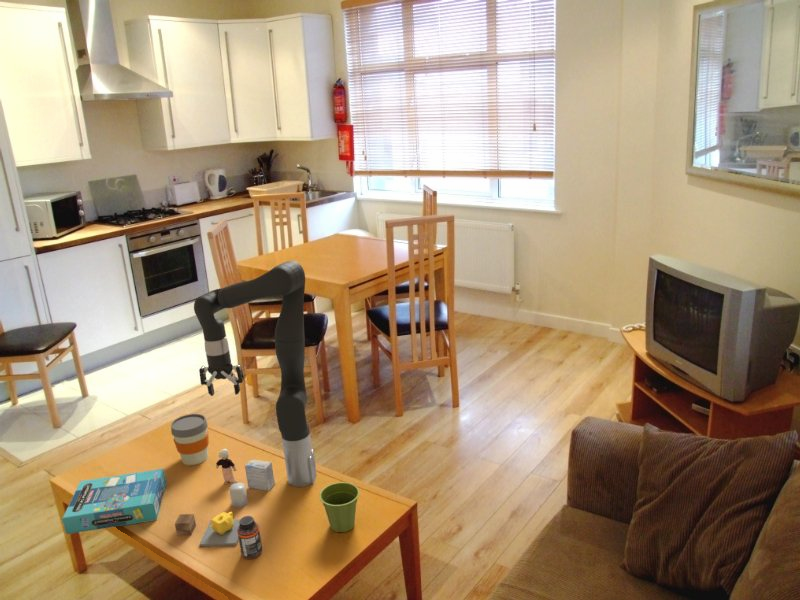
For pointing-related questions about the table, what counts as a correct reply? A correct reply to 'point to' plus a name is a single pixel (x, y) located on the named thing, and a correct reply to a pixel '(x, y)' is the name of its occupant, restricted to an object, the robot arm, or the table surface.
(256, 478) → the medicine box
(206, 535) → the slate mat
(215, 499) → the table surface
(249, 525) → the supplement bottle
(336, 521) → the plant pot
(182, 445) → the reusable coffee cup
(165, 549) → the table surface
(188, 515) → the walnut cube
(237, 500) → the white rounded cylinder
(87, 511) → the game box
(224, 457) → the grandmother figurine
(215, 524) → the teapot
